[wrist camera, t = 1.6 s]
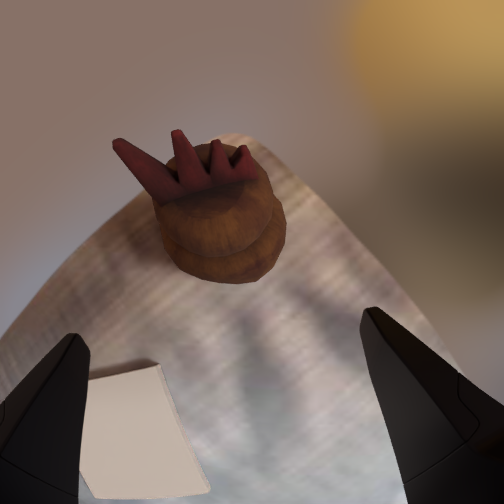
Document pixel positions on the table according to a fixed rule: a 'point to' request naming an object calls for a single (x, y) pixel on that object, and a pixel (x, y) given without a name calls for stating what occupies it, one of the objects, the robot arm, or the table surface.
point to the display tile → (137, 440)
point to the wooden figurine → (212, 208)
